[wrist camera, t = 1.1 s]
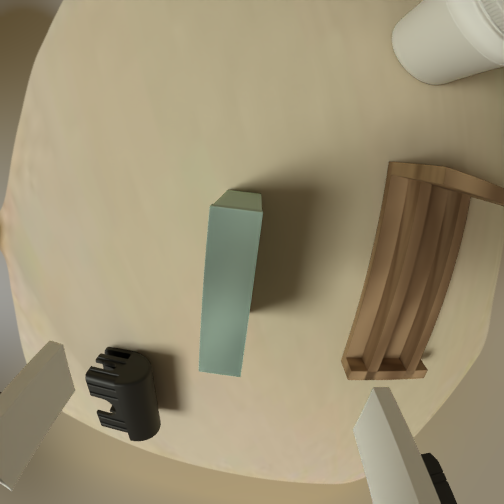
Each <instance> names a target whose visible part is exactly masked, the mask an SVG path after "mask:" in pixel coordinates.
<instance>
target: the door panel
mask: <svg viewBox="0 0 504 504" xmlns="http://www.w3.org/2000/svg"><path fill="white" fill-rule="evenodd" d="M262 217H263V210H262V199H261V194H258V193H250V192H242V191H233V190H227V191H226V192H225V193H224V194H223V195H222V196H221V197H220V198H219V199H218V200H217V201H216V202H215V203H214V204H212V205H211V206H210V210H209V221H208V232H207V244H206V256H205V269H204V282H203V297H202V313H201V331H200V352H199V371H200V372H207V373H214V374H221V375H228V376H236V377H240V376H241V369H242V362H243V355H244V348H245V341H246V334H247V326H248V319H249V312H250V305H251V298H252V290H253V283H254V276H255V269H256V261H257V254H258V246H259V239H260V232H261V224H262Z"/></svg>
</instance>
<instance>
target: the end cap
mask: <svg viewBox="0 0 504 504" xmlns="http://www.w3.org/2000/svg"><path fill="white" fill-rule="evenodd" d="M96 363H101V364H103V367H104V369H101V368H96V367H92V366H91V367H90V368H89V370H88V371H87V373H86V382H87V385H88V388H89V392H90V395H91V396H95V397H98V398H102V399H105V400H107V401H108V402H110V403H111V404H112V407H111V409H110V412H113V413H108V412H104V411H101V410H97V415H98V417H99V420H100V423H101V425H102V426H105V427H108V428H112V429H116V430H120V431H123V432H127V433H128V435H129V438H130V440H131V441H144V440H147V439H150V438H152V437H153V436H154V435H156V434H157V432H158V431H159V429H160V425H161V423H160V416H159V411H158V406H157V400H156V394H155V388H154V381H153V375H152V368H151V364H150V362H149V361H148V359H147V358H146V357H144V356H143V355H141V354H140V353H137V352H134V351H128V350H123V349H118V348H113V347H107V348H106V350H105V354H100V355H99V356H98V357H97V359H96Z"/></svg>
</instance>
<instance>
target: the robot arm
mask: <svg viewBox="0 0 504 504" xmlns="http://www.w3.org/2000/svg"><path fill="white" fill-rule="evenodd" d="M74 391H75V388H74V385H73V381H72V378H71V374H70V370H69V367H68V363H67V359H66V355H65V351H64V346H63V344H59V343H56V342H53V341H49V342H48V343H47V344H46V345H45V346H44V347H43V348H42V349H41V350H40V351H39V352H38V353H37V354H36V355H35V356H34V358H33V359H32V360H31V361H30V362H29V363H28V364H27V365H26V366H25V367H24V368H23V369H22V370H21V372H20V373H19V374H18V375H17V376H16V377H15V378H14V379H13V380H12V381H11V382H10V384H9V385H8V386H7V387H6V388H5V389H4V390H3V391H2V392H0V484H2V485H3V486H5V487H6V488H8V489H10V490H11V491H12V490H13V488H14V487H15V485H16V483H17V481H18V480H19V478H20V476H21V474H22V473H23V471H24V469H25V468H26V466H27V464H28V463H29V461H30V459H31V458H32V456H33V454H34V453H35V451H36V450H37V448H38V446H39V445H40V443H41V441H42V440H43V438H44V437H45V435H46V434H47V432H48V431H49V429H50V427H51V426H52V424H53V423H54V421H55V420H56V418H57V417H58V415H59V413H60V412H61V411H62V409H63V408H64V406H65V405H66V403H67V402H68V400H69V399H70V397H71V396H72V394H73V393H74ZM353 432H354V435H355V439H356V442H357V446H358V449H359V453H360V456H361V460H362V464H363V467H364V471H365V475H366V478H367V482H368V486H369V490H370V493H371V497H372V501H373V504H457V503H456V500H455V498H454V495H453V493H452V491H451V488H450V486H449V484H448V482H447V481H446V477H445V475H444V473H443V470H442V468H441V466H440V464H439V462H438V461H437V459H436V458H435V457H434V456H433V455H432V454H431V453H426V454H421V455H420V452H419V450H418V448H417V445H416V443H415V441H414V439H413V437H412V434H411V432H410V430H409V428H408V426H407V424H406V421H405V419H404V417H403V415H402V413H401V411H400V409H399V407H398V405H397V402H396V400H395V398H394V396H393V394H392V392H391V390H390V388H389V387H374V388H373V389H372V391H371V394H370V396H369V398H368V400H367V402H366V404H365V406H364V408H363V410H362V413H361V415H360V417H359V419H358V421H357V422H356V424H355V426H354V428H353Z"/></svg>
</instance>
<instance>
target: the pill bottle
mask: <svg viewBox="0 0 504 504" xmlns="http://www.w3.org/2000/svg"><path fill="white" fill-rule="evenodd" d="M392 45H393V49H394V52H395V55H396V57H397V58H398V60H399V62H400V63H401V65H402V66H403V67H404V68H405V69H406V70H407V71H408V72H409V73H410V74H411V75H412V76H413V77H415V78H416V79H418V80H420V81H422V82H424V83H427V84H431V85H441V84H446V83H449V82H452V81H455V80H458V79H462V78H465V77H468V76H471V75H475V74H478V73H481V72H485V71H489V70H492V69H496V68H499V67H503V66H504V0H423V1H422V2H420V3H419V4H418V5H417V6H416V7H415V8H413V9H412V10H411V11H410V12H409V13H408V14H406V15H405V16H404V17H403V18H402V19H401V20H400V21H399V22H398V23H397V24H396V26H395V27H394V29H393V32H392Z"/></svg>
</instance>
